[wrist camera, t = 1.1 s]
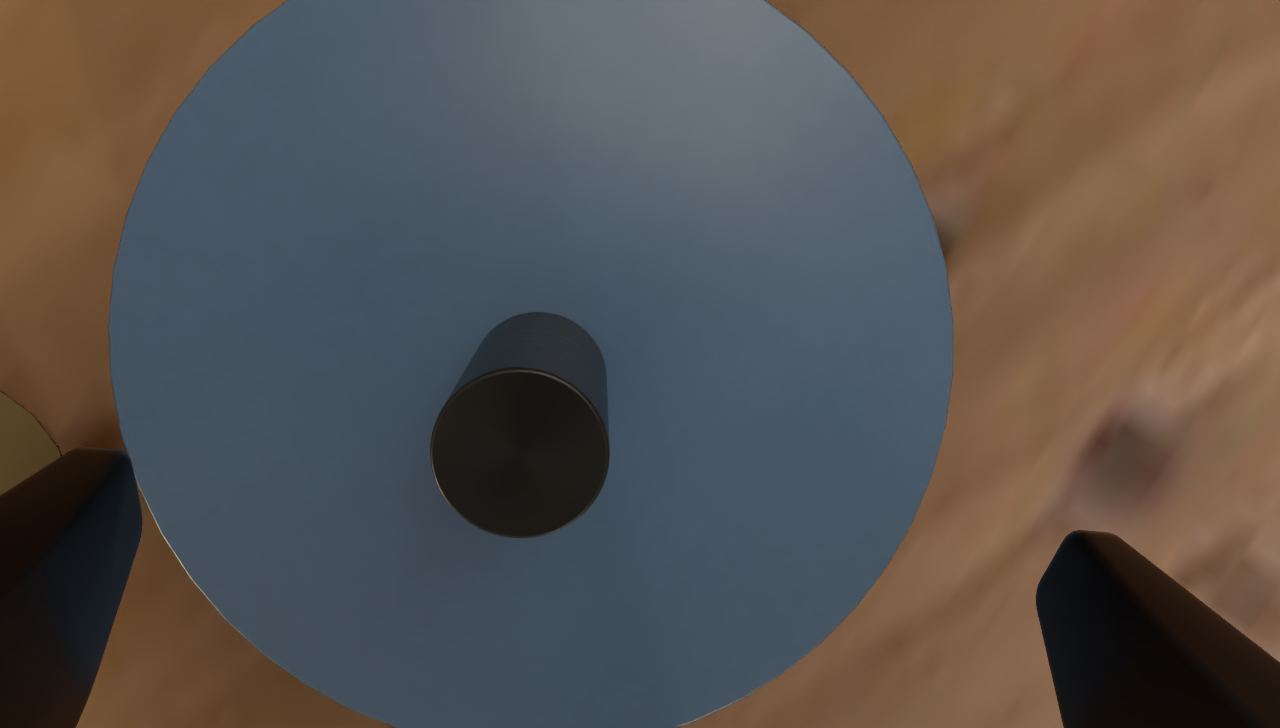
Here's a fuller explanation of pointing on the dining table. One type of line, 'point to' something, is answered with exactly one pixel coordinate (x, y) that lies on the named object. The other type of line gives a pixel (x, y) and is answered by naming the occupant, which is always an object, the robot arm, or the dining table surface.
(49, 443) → the tan pawn
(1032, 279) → the dining table surface
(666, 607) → the lid
